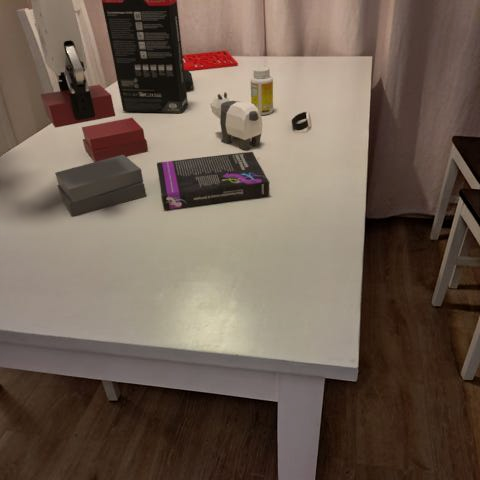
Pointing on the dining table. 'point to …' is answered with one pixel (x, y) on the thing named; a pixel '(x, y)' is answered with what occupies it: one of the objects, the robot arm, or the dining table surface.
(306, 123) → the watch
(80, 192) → the grey book pile
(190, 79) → the carrying case
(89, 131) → the burgundy book pile
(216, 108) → the giant panda
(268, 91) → the supplement bottle
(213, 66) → the maze puzzle
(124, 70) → the graphics card box
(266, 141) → the dining table surface
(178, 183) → the box
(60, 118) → the dark red rectangular block
